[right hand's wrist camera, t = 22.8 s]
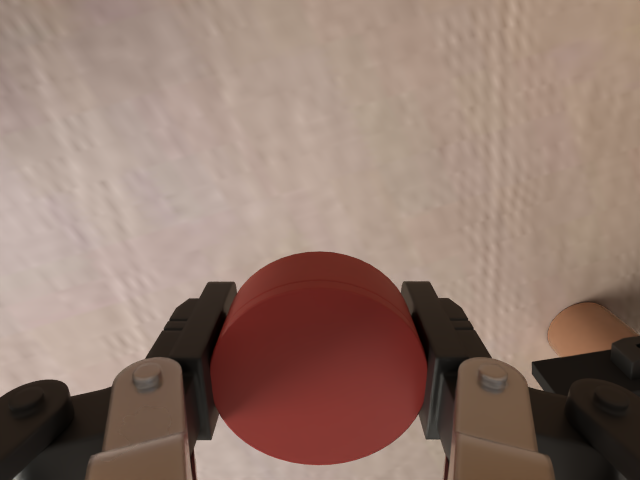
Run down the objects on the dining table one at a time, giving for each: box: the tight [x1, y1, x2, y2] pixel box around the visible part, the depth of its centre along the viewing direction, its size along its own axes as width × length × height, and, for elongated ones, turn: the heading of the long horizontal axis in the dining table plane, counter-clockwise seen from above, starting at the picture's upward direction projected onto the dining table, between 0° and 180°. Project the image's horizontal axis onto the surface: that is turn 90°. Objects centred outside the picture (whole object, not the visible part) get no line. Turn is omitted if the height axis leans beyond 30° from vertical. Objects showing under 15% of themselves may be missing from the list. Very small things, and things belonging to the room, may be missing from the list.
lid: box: [210, 252, 428, 465], centre depth 10 cm, size 5×5×2 cm
